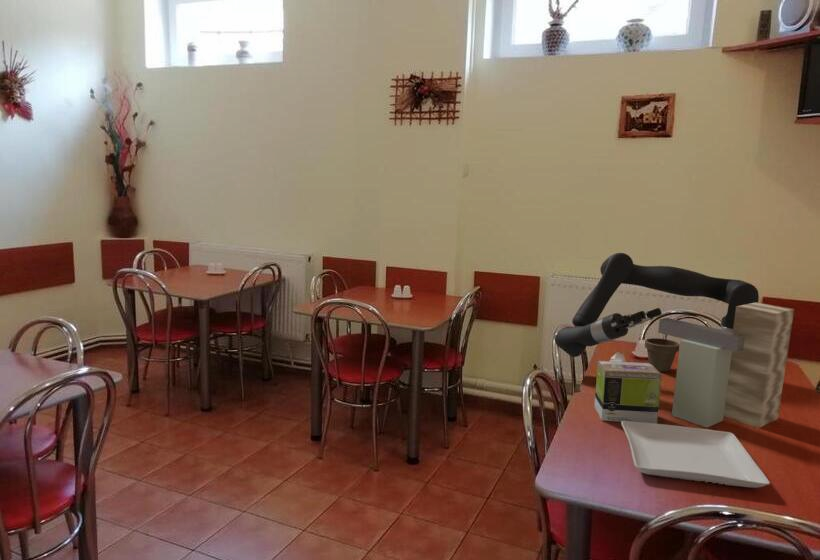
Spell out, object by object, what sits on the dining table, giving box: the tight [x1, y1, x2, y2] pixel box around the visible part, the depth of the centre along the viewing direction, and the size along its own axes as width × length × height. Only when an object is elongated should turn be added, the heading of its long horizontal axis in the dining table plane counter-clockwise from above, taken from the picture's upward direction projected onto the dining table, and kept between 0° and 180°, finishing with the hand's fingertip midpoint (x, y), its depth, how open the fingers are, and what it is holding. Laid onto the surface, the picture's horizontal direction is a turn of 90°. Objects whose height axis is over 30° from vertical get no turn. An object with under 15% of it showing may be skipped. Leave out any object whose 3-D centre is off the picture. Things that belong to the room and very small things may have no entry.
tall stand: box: [723, 302, 795, 429], centre depth 165 cm, size 12×10×32 cm
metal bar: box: [657, 317, 745, 352], centre depth 163 cm, size 4×22×4 cm, turn 37°
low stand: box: [671, 339, 732, 429], centre depth 164 cm, size 9×10×22 cm
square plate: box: [620, 421, 771, 489], centre depth 139 cm, size 27×27×4 cm
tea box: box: [594, 360, 662, 424], centre depth 164 cm, size 15×10×15 cm, turn 84°
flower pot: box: [644, 337, 680, 373], centre depth 209 cm, size 12×11×10 cm
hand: (652, 312), depth 174 cm, fingers open, 8 cm apart
